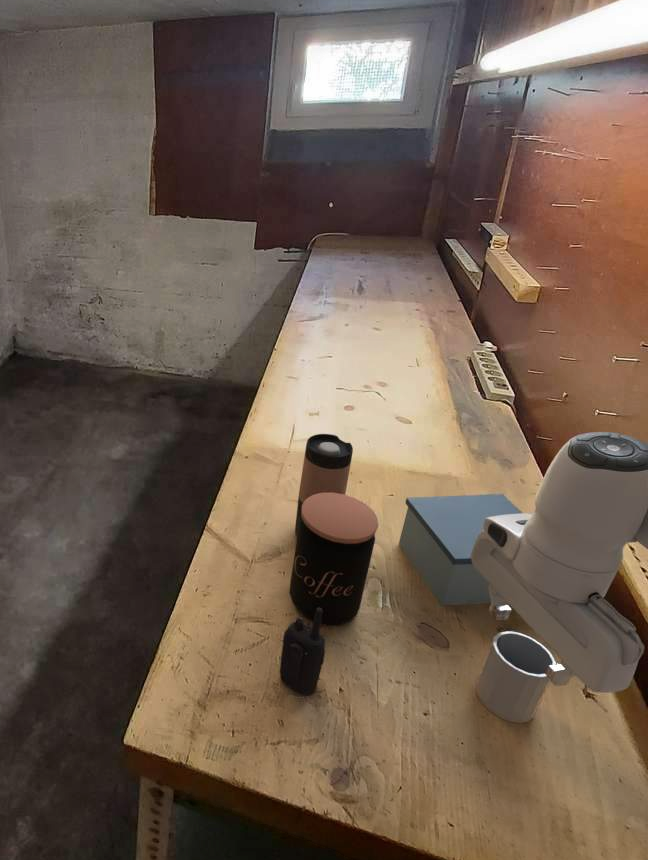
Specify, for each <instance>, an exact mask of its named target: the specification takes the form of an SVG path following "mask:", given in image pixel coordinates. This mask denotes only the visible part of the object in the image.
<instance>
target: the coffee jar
mask: <svg viewBox="0 0 648 860" xmlns="http://www.w3.org/2000/svg"><path fill="white" fill-rule="evenodd" d="M378 520H379V519H378V516H377V515H376V513H375V511H374V510H373V509H372V508H371V507H369V506H368V505H367V504H366V503H365V502H363V501H361V500H359V499H357V498H355V497H353V496H350V495H347V494H345V495H344V494H338V493H319V494H315V495H312V496H310V497H309V498H307V499H306V500H305V501H304V503H303V504H302V510H301V517H300V520H299V526H298V533H297V537H296V540H295V548H294V555H293V561H292V567H291V568H292V569H291V575H290V581H289V597H290V599H291V602H292V604H293V605H294V606H295V608H296V609H297V611H298V612H299V613H300V614H301V615H302V616H304V617H305V618H306V619H308V620H309V621H311V622H314V617H315V613H316V609H317V608H321V609H322V610H323V612H322V620H321V626H322V625H323V626H327V627H337V626H338V627H339V626H341V625H344V624H346V623H350V622H351V621H352V620H353V619H354V618H355V617H356V616H357V615H358V613H359V611H360V608H361V604H362V599H363V595H364V592H365V591H364V590H365V586H366V582H367V577H368V574H369V568H370V564H371V559H372V556H373V552H374V551H373V550H374V547H375V542H376V531H377V530H378V528H379V521H378Z"/></svg>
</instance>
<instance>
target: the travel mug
mask: <svg viewBox="0 0 648 860" xmlns="http://www.w3.org/2000/svg"><path fill="white" fill-rule="evenodd" d="M353 452H354V447H353V445H352V443H351V442H345V441H343V440H342V439H340V438H339V436H338V435H335V434H331V433H317V434H314V435H312V436H310V437H308V439H307V440H306V445H305V451H304V458H303V464H302V470H301V477H300V482H299V489H298V497H297V507H296V518H295V526H294V527H295V529H294V531H295V532H294V533H295V537H296V538H297V533H298V526H299V520H300V517H301V510H302V504H303V503H304V501H305V500H306V499H307V498H309V497H310V496H312V495H315V494H319V493H338V494H344V495H346V493H347V486H348V481H349V476H350V471H351V470H350V469H351V464H352V457H353Z"/></svg>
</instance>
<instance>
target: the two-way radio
mask: <svg viewBox="0 0 648 860" xmlns="http://www.w3.org/2000/svg"><path fill="white" fill-rule="evenodd" d="M322 612H323V610H322V609H321V608H317V609H316V613H315V617H314V621H312V627H311V626H309V625H307V624H305V623H304V619H303V618H301V617H297V618H296V619H295V621H293V622H291V624H289V626H288V627H287V628H286V629H285V631H284V634H283V639H282V648H281V654H280V665H279V667H280V668H279V677H280V680H281V682H282V684H284V685H285V686H286V687H288V688H290V689H291V690H292V691H294V692H296V693H298V694H299V695H303V696H310V695H313V694H314V693H315V692H316V690H317V686H318V683H319V679H320V676H321V672H322V666H323V665H324V662H325V661H324V660H325V655H326V640H325V638H324V635H323V634H322V633H321V627H322V624H321V620H322Z"/></svg>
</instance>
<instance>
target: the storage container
mask: <svg viewBox="0 0 648 860" xmlns="http://www.w3.org/2000/svg"><path fill="white" fill-rule="evenodd" d="M405 505H406V506H407V509H406V513H405V518H404V521H403V525H402V529H401V533H400V536H399V540H398V545H399V547H400V549H401V550H402V551H403V553H404V555H406V557H407V558H408V560H409V561H410V563H411V565H413V567H414V568H415V570H416V571H417V573H418V575H419V576H420V578H421V579H422V580H423V582H424V583H425V585H426V586H427V587H428V589H429V590H430V592H431V593H432V594H433V596H434V598H435V599H436V600H437V602H438V603H439V605H440V606H459V605H482V604H483V605H484V604H491V603H492V602H491V599H490V594H489V589H488V586H489V582H488V581H487V580H486V579H485V578H484V577H483V576H482V575H481V574H480V573H479V572H478V570H477V569H476V568H475V567H474V566H473V564H472V560H471V552H472V548H473V546H474V543H475V541H476V538H477V536H478V534H479V533H480V532H481V531H482V530H484V529H483V523H484V520H485V519H486V518H487V517H492V516H498V515H506V514H524V512H522V510H520V508H518V507H517V506H516V505H515V504H514V503H513V502H512V501H511V500H510V499H509V498H508V497H506V495H504V494H503V493H490V494H489V493H488V494H464V495H443V496H417V497H414V496H413V497H406V500H405Z"/></svg>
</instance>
